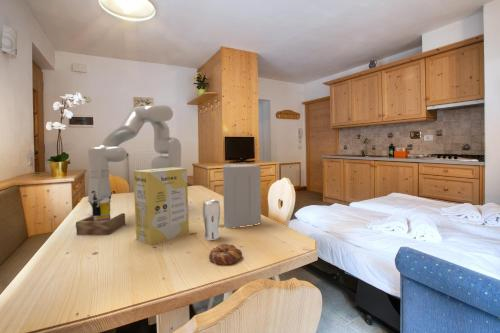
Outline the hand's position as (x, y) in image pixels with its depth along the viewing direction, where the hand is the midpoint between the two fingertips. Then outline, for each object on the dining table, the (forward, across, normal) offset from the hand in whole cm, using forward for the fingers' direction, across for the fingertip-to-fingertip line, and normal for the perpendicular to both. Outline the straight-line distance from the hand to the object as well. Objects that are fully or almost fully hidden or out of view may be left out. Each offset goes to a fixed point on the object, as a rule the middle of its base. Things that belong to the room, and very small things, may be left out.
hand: (101, 213), depth 116 cm
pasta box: (+8, +8, +31) cm, 33 cm away
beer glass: (+8, +11, +52) cm, 54 cm away
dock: (+7, 0, 0) cm, 7 cm away
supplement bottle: (+4, 0, 0) cm, 4 cm away
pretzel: (+8, +29, +59) cm, 67 cm away
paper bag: (+8, -7, +61) cm, 62 cm away
